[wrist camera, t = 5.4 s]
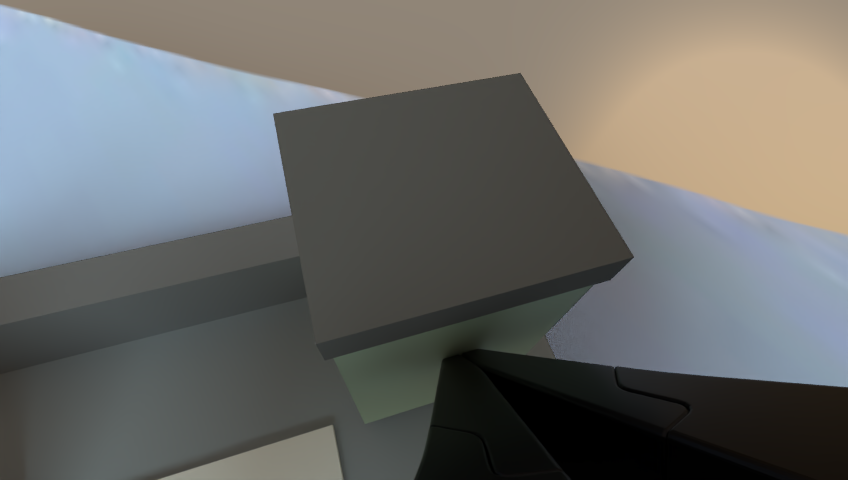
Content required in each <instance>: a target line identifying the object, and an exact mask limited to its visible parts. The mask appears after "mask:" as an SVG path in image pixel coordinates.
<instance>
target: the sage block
mask: <svg viewBox="0 0 848 480" xmlns="http://www.w3.org/2000/svg"><path fill="white" fill-rule="evenodd" d="M273 116H274V121H275V126H276V132H277V137H278V143H279V148H280V154H281V159H282V164H283V170H284V175H285V181H286V186H287V192H288V197H289V202H290V208H291V213H292V219H293V224H294V229H295V235H296V240H297V246H298V251H299V257H300V262H301V267H302V273H303V278H304V284H305V289H306V295H307V300H308V305H309V311H310V316H311V322H312V327H313V333H314V338H315V343H316V346H317V348H318V349H319V351H320V353H321V355H322V357H323V358H324V360H329V359H332V358H334V361H335V363H336V365H337V367H338V369H339V371H340V373H341V375H342V377H343V379H344V381H345V384H346V386H347V388H348V390H349V392H350V394H351V396H352V398H353V400H354V402H355V404H356V407H357V409H358V411H359V413H360V415H361V417H362V419H363V421H364V423H365V424H367V423H370V422H373V421H376V420H380V419H383V418H386V417H389V416H392V415H395V414H398V413H402V412H405V411H408V410H411V409H414V408H417V407H420V406H424V405H427V404H430V403H433V402H434V400H435V395H436V389H437V384H438V378H439V373H440V368H441V362H442V360H443V359H445V358H448V357H451V356H455V355H462V354H463V353H465V352H468V351H471V350H475V349H485V350H492V351H500V352H507V353H515V354H522V355H526V354H527V353H528V352H529V351H530V350H531V349H532V348H533V347H534V346H535V345H536V344H537V343H538V341H539V340H540V339H541V338H542V337H543V336H544V335H545V334H546V333H547V332H548V331H549V330H550V329H551V328H552V327H553V326H554V325H555V324H556V323H557V322H558V321H559V320H560V319H561V318H562V317H563V316H564V315H565V314H566V313H567V312H568V311H569V310H570V309H571V308H572V307H573V306H574V304H575V303H576V302H577V301H578V300H579V299H580V298H581V297H582V296H583V295H584V294H585V293H586V292H587V291H588V290H589V289H590V288H591V287H592V286H593V285H594V284H598V283H601V282H605V281H608V280H611V279H612V278H613V277H614V276H615V275H616V274H617V273H618V272H619V271H620V270H621V269H622V268H623V267H624V266H625V265H626V264H627V263H628V262H629V261H630V260H631V259H632V258H634V256H633V255H632V253H631V251H630V250H629V248H628V247H627V245H626V243H625V242H624V240H623V239H622V237H621V235H620V234H619V232H618V230H617V229H616V227H615V226H614V224H613V222H612V221H611V219H610V217H609V216H608V214H607V213H606V211H605V209H604V208H603V206H602V204H601V203H600V201H599V200H598V198H597V196H596V195H595V193H594V192H593V190H592V188H591V187H590V185H589V183H588V182H587V180H586V179H585V177H584V175H583V174H582V172H581V170H580V169H579V167H578V166H577V164H576V162H575V161H574V159H573V158H572V156H571V154H570V153H569V151H568V149H567V148H566V147H565V144H564V143H563V141H562V140H561V138H560V136H559V135H558V133H557V132H556V130H555V128H554V127H553V125H552V123H551V122H550V120H549V119H548V117H547V115H546V114H545V112H544V111H543V109H542V107H541V106H540V104H539V103H538V101H537V99H536V97H535V96H534V94H533V93H532V91H531V89H530V88H529V86H528V84H527V83H526V81H525V80H524V78H523V76H522V75H521V73H518V74H512V75H506V76H500V77H495V78H488V79H482V80H475V81H469V82H463V83H457V84H451V85H445V86H439V87H434V88H427V89H421V90H415V91H408V92H402V93H396V94H390V95H384V96H378V97H372V98H366V99H360V100H354V101H348V102H342V103H335V104H329V105H323V106H317V107H311V108H305V109H299V110H293V111H287V112H281V113H275V114H273Z"/></svg>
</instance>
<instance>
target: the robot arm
mask: <svg viewBox="0 0 848 480" xmlns="http://www.w3.org/2000/svg"><path fill="white" fill-rule="evenodd" d="M414 480H848V387H837V386H825V385H813V384H800V383H788V382H775V381H763V380H750V379H738V378H725V377H713V376H701V375H690V374H679V373H668V372H659V371H650V370H642V369H633V368H626V367H618V366H617V367H615V369H614V367H612V366H605V365H598V364H590V363H582V362H575V361H567V360H560V359H552V358H545V357H537V356H530V355H522V354H515V353H507V352H500V351H492V350H485V349H475V350H471V351H468V352H465V353H463V354H462V355H455V356H451V357H448V358H445V359H443V360H442V362H441V368H440V373H439V378H438V384H437V389H436V395H435V400H434V405H433V411H432V416H431V422H430V427H429V430H428V435H427V440H426V444H425V448H424V452H423V456H422V459H421V462H420V465H419V467H418V470H417V473H416V475H415V478H414Z"/></svg>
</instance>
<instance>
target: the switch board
mask: <svg viewBox="0 0 848 480" xmlns="http://www.w3.org/2000/svg"><path fill="white" fill-rule="evenodd" d="M526 355H530V356H537V357H545V358H552V359H556V358H555V356H554V354H553V352H552V350H551V347H550V345H549V343H548V341H547V339H546V336H545V335H544V336H543V337H542V338H541V339H540V340H539V341H538V343H537V344H536V345H535V346H534V347H533V348H532V349H531V350H530V351H529V352H528V353H527V354H526ZM433 405H434V402H433V403H430V404H427V405H424V406H420V407H417V408H414V409H411V410H408V411H405V412H402V413H398V414H395V415H392V416H389V417H386V418H383V419H380V420H376V421H373V422H370V423H367V424H365V423H364V421H363V419H362V417H361V415H360V413H359V411H358V409H357V407H356V404H355V402H354V400H353V398H352V396H351V394H350V392H349V390H348V388H347V386H346V384H345V381H344V379H343V377H342V375H341V373H340V371H339V369H338V367H337V365H336V363H335V361H334V358H332V359H329V360H324V358H323V357H322V355H321V353H320V351H319V349H318V348H317V346H316V343H315V338H314V333H313V327H312V322H311V316H310V311H309V305H308V300H307V295H306V289H305V284H304V278H303V273H302V267H301V262H300V257H299V251H298V246H297V240H296V235H295V229H294V224H293V219H292V216H288V217H284V218H279V219H274V220H270V221H265V222H260V223H255V224H251V225H246V226H241V227H237V228H232V229H227V230H222V231H218V232H213V233H208V234H204V235H199V236H194V237H189V238H185V239H180V240H175V241H171V242H166V243H161V244H156V245H152V246H147V247H142V248H138V249H133V250H128V251H123V252H119V253H114V254H109V255H105V256H100V257H95V258H90V259H86V260H81V261H76V262H72V263H67V264H62V265H57V266H53V267H48V268H43V269H39V270H34V271H29V272H24V273H20V274H15V275H10V276H6V277H1V278H0V480H414V478H415V475H416V473H417V470H418V467H419V465H420V462H421V459H422V456H423V452H424V448H425V444H426V440H427V435H428V430H429V427H430V422H431V416H432V411H433Z"/></svg>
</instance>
